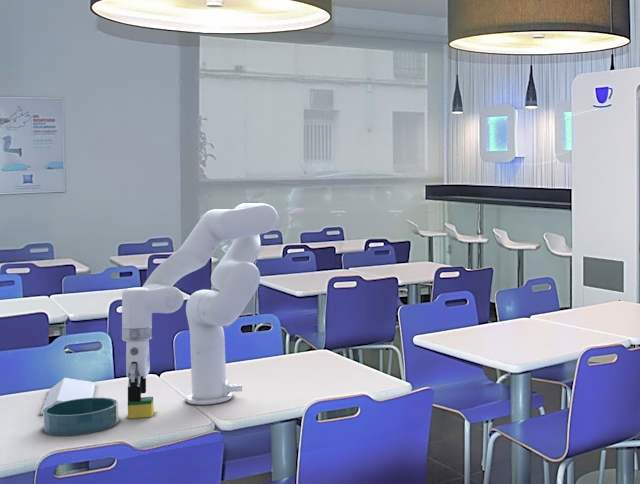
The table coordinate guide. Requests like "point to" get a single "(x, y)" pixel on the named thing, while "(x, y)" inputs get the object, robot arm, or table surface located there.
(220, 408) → the table surface
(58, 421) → the bowl
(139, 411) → the sponge
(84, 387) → the crown molding
